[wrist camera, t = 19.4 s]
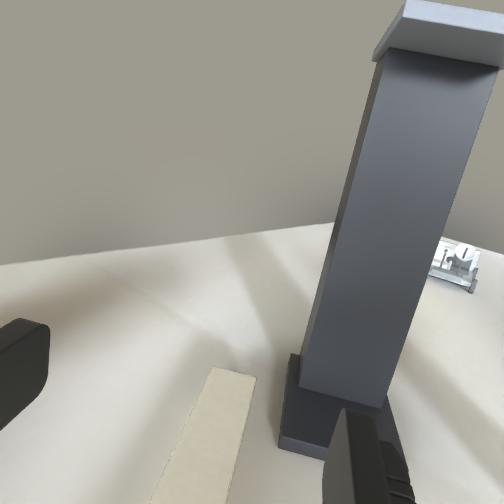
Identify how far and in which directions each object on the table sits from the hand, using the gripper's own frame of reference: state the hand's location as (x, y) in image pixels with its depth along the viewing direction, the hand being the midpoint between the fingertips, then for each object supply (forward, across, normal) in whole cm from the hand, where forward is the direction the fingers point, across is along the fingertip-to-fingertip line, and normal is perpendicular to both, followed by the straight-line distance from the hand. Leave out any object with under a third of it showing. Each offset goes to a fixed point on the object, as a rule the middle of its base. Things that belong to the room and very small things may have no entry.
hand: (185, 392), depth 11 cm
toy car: (+83, -38, +17) cm, 93 cm away
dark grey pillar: (+24, -10, +17) cm, 31 cm away
